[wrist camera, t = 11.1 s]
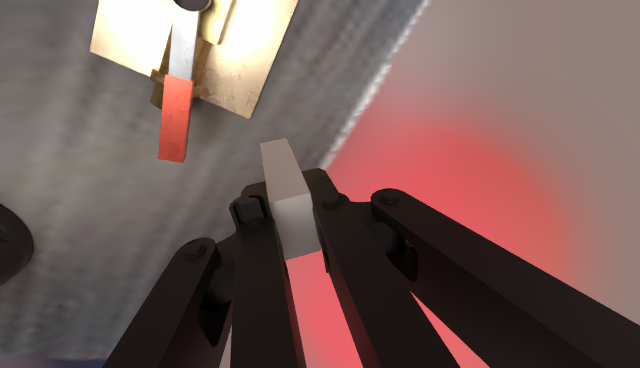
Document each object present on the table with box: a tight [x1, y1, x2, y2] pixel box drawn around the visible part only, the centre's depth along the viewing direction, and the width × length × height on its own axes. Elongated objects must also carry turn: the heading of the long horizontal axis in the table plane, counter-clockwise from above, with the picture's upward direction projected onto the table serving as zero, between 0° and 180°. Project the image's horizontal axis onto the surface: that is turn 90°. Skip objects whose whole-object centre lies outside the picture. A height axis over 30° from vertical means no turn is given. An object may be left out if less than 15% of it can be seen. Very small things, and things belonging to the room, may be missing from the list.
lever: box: [158, 0, 211, 163], centre depth 25 cm, size 17×3×2 cm, turn 162°
